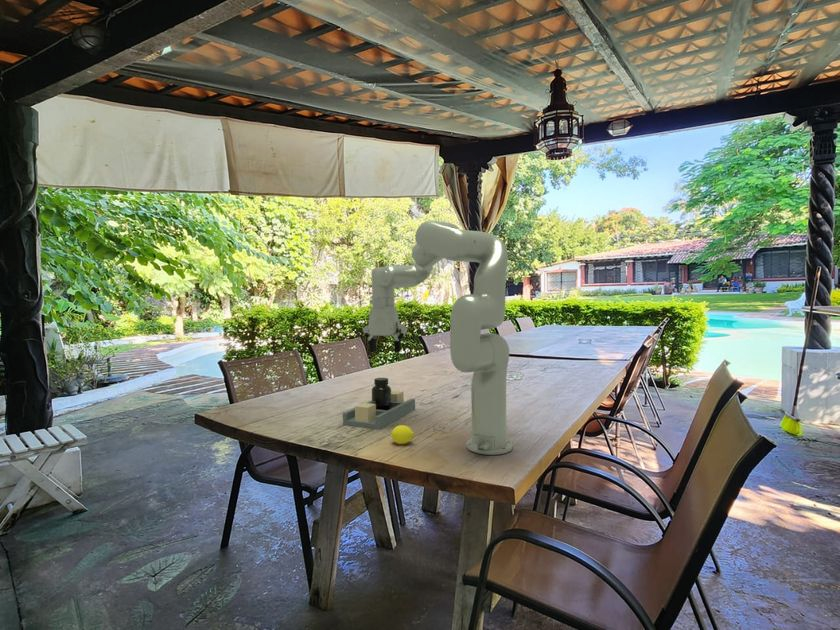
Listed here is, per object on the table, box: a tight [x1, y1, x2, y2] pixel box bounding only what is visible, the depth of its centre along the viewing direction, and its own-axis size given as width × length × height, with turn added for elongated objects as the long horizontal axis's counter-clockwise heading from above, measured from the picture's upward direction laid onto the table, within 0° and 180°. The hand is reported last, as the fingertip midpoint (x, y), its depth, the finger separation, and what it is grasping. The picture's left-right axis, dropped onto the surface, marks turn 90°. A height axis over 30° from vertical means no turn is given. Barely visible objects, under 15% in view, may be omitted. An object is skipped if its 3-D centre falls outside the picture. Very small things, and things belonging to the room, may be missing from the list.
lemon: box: [390, 424, 415, 445], centre depth 128 cm, size 7×5×5 cm
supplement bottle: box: [371, 377, 392, 411], centre depth 156 cm, size 7×7×12 cm
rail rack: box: [342, 390, 416, 430], centre depth 156 cm, size 26×14×6 cm, turn 155°
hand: (385, 351), depth 156 cm, fingers open, 9 cm apart
